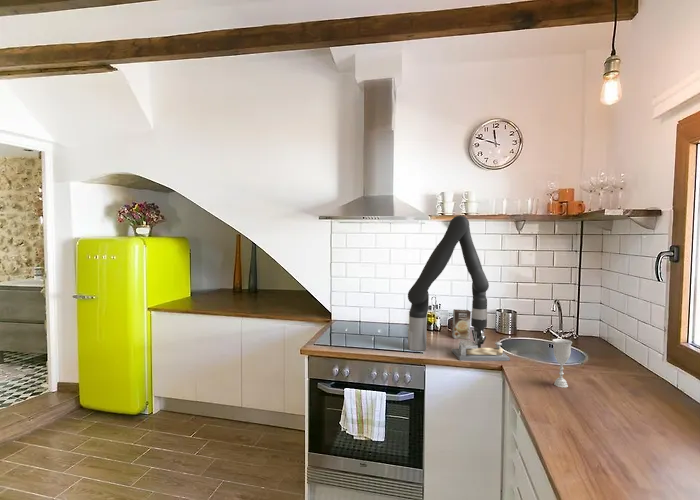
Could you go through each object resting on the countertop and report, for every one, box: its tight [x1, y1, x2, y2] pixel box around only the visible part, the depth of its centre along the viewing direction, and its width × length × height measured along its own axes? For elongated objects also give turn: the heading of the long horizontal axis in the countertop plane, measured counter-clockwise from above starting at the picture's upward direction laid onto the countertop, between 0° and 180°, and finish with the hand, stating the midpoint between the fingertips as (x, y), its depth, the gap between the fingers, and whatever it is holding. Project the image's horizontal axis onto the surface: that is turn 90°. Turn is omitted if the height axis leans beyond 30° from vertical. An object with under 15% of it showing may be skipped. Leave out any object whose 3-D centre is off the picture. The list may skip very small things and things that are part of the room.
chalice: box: [552, 338, 573, 388], centre depth 157 cm, size 7×7×18 cm
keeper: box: [458, 339, 478, 356], centre depth 191 cm, size 7×9×7 cm
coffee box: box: [451, 309, 472, 340], centre depth 227 cm, size 9×6×16 cm
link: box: [466, 347, 504, 355], centre depth 191 cm, size 18×4×2 cm, turn 89°
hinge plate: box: [451, 341, 511, 362], centre depth 194 cm, size 24×14×7 cm, turn 91°
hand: (478, 351), depth 195 cm, fingers closed
